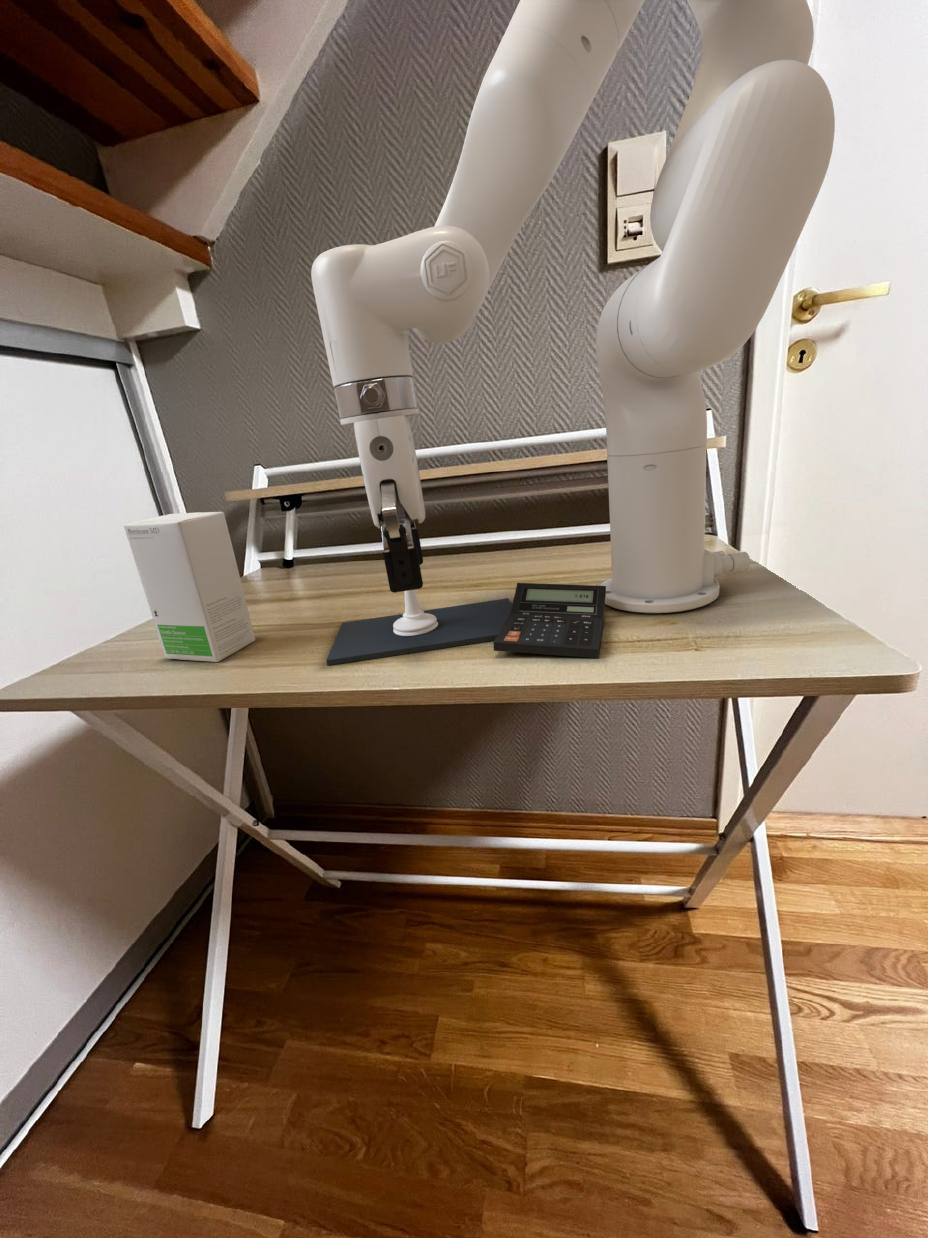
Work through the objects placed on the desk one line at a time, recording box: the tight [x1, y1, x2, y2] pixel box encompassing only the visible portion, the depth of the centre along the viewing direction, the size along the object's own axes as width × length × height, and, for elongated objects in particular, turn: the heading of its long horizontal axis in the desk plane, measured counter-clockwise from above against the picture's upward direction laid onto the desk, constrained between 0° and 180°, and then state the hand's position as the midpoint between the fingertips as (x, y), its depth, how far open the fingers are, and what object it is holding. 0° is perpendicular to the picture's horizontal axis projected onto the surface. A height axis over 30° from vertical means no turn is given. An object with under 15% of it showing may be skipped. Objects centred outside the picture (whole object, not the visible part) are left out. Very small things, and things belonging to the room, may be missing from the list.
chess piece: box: [393, 589, 438, 636], centre depth 57 cm, size 5×5×10 cm
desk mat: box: [325, 597, 512, 666], centre depth 59 cm, size 20×11×1 cm, turn 94°
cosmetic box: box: [123, 511, 256, 663], centre depth 60 cm, size 8×7×16 cm
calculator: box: [492, 582, 606, 659], centre depth 53 cm, size 9×12×3 cm
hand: (408, 576), depth 57 cm, fingers open, 9 cm apart
